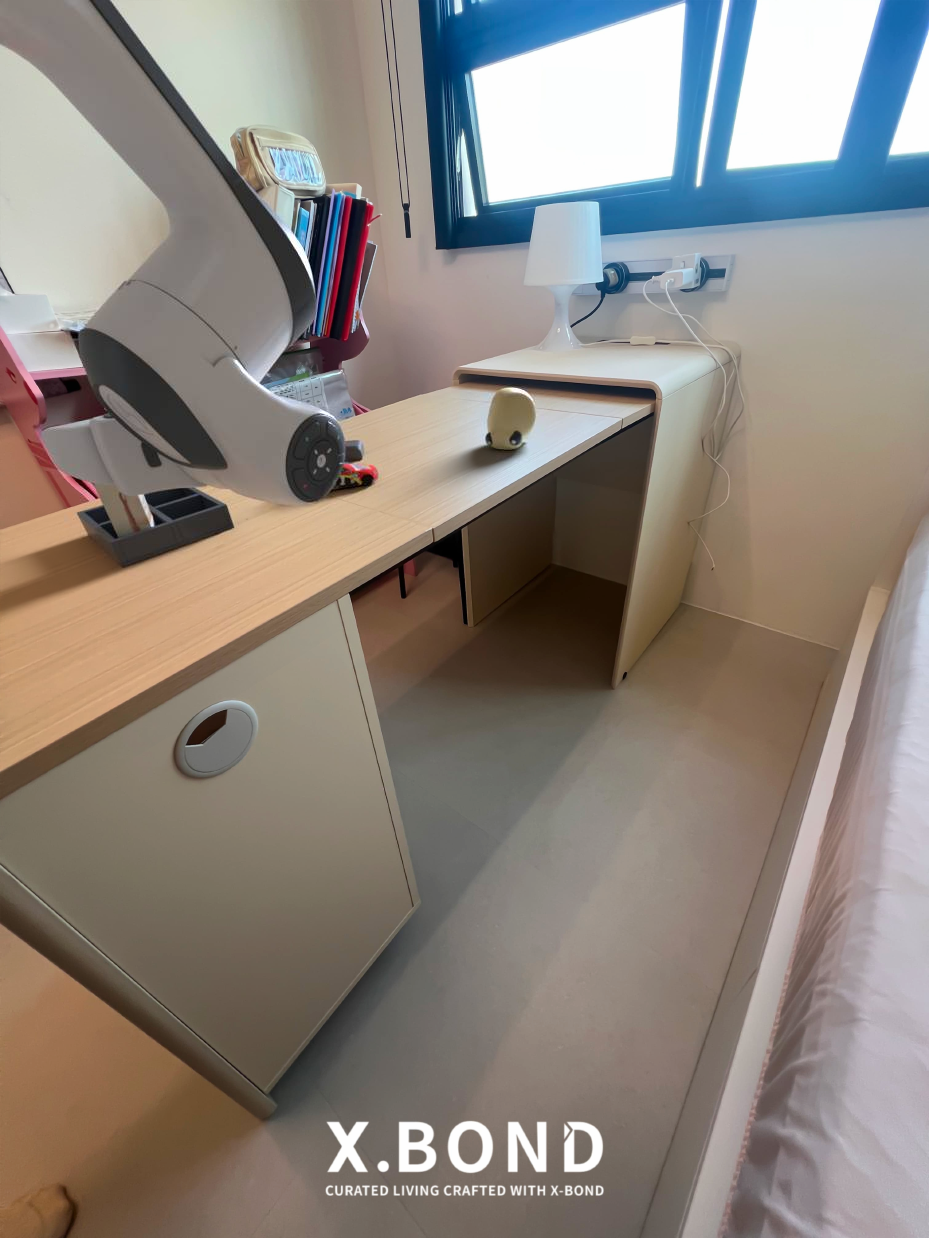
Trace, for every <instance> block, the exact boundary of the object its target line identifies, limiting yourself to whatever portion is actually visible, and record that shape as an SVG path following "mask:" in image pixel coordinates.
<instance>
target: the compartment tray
mask: <svg viewBox="0 0 929 1238" xmlns="http://www.w3.org/2000/svg"><path fill="white" fill-rule="evenodd" d="M143 495H144V497H145V500H146V502H147V504H148V507H149V509H150V512H151V514H152V516H153V519H154V521H155V524H156V526H154V527H151V528H148V529H145V530H142V531H138V532H135V533H132V534H129V535H126V536H123V537H120V538H118V535H117V533H116V531H115V529H114V527H113V525H112V523H111V520H110V518H109V516H108V514H107V512H106V510H105V508H104V506H103V504H102V505H99V506H95V507H91V508H88V509H83V510H81V511H76V515H77V517H78V518H79V520H80V522H81V524H82V526H83V528H84V530H85V532H86V534H87V535H88V536H89V538H91V539H92V541H94V542H95V543H96V544H97V545H98V547H100V548H101V549H102V550H104V552H106V553H107V554H108V555H109V556H110V557H111V558H112V559H113V560H114V561H115V562H116V563H117V564H119V566H120V567H122V568H126V567H129V566H131V565H134V564H136V563H137V564H138V563H139V562H142V561H145V560H148V559H150V558H154V557H156V556H158V555H162V554H164V553H167V552H170V551H172V550H176V549H178V548H182V547H184V546H187V545H189V544H192V543H195V542H198V541H200V540H203V539H206V538H209V537H212V536H214V535H216V534H220V533H223V532H225V531H228V530H232V529H235V525H234V522H233V519H232V516H231V513H230V511H229V507H228V504H226V503H225V502H222V501H221V500H219V499H217V498H215V497H213V496H211V495H210V494H207V493H205V492H204V491H202V490H200V489H199V488H175V489H170V490H164V491H159V492H154V493H149V494H143Z"/></svg>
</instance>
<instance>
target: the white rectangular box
mask: <svg viewBox="0 0 929 1238" xmlns="http://www.w3.org/2000/svg"><path fill="white" fill-rule="evenodd" d="M92 484H93V486H94V489H95V491H96V493H97V495H98V497H99V499H100V502H101V503H102V505H103V506H104V508H105V510H106V512H107V514H108V516H109V518H110V520H111V523H112V525H113V527H114V529H115V531H116V533H117V535H118V538H120V537H123V536H126V535H129V534H132V533H135V532H138V531H142V530H145V529H148V528H151V527H154V526H156V524H155V521H154V519H153V516H152V514H151V512H150V509H149V507H148V504H147V502H146V500H145V497H144V495H143V494H142V495H137V496H128V495H124V494H122V493H121V492H120V491H119V490H118V488H117V486H116V485H100V484H94V483H92Z"/></svg>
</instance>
